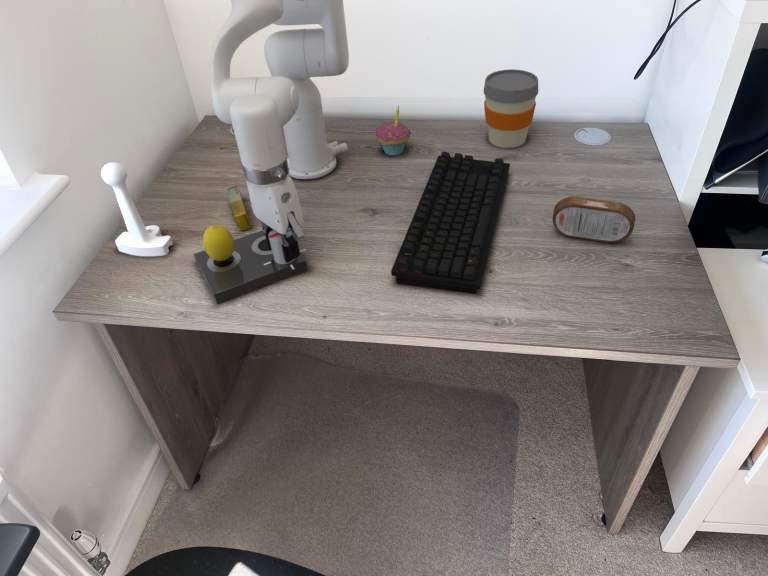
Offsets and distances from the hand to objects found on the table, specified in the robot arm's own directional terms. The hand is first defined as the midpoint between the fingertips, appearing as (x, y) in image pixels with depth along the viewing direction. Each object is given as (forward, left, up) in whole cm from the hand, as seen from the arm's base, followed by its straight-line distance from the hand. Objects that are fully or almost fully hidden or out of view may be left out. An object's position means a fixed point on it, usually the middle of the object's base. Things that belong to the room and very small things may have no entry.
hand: (284, 252), depth 117 cm
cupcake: (-39, -28, -4) cm, 48 cm away
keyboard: (-35, +6, -4) cm, 36 cm away
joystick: (+22, -23, -4) cm, 32 cm away
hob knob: (0, 0, -1) cm, 1 cm away
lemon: (+10, -6, -1) cm, 12 cm away
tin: (-54, +24, -4) cm, 59 cm away
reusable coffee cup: (-65, -17, -4) cm, 67 cm away
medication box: (+2, -22, -4) cm, 22 cm away
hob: (+6, -4, -4) cm, 8 cm away
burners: (+6, -6, -1) cm, 8 cm away
